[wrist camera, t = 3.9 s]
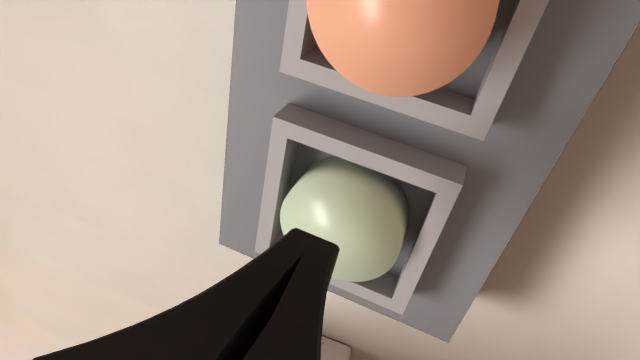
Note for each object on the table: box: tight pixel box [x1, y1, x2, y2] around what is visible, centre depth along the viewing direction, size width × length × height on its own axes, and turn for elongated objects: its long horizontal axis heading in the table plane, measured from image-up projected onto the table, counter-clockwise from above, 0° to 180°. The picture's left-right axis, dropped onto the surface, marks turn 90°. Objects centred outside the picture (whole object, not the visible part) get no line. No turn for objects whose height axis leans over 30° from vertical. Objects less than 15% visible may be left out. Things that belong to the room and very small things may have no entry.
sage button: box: [280, 157, 409, 282], centre depth 16 cm, size 4×4×2 cm
